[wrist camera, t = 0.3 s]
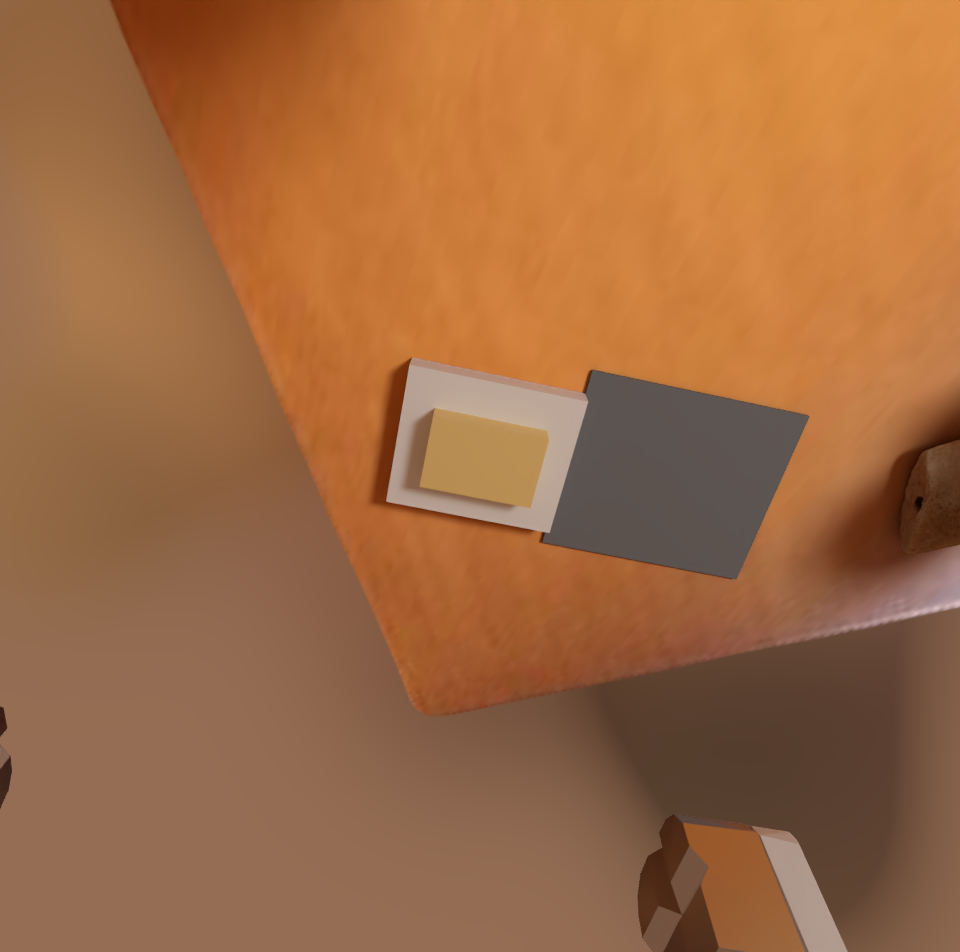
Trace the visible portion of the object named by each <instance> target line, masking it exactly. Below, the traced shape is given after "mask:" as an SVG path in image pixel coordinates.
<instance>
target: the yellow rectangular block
mask: <svg viewBox="0 0 960 952" xmlns="http://www.w3.org/2000/svg"><path fill="white" fill-rule="evenodd" d="M548 443H549V437H548V432H547V431H546V430H541V429H537V428H532V427H527V426H522V425H517V424H512V423H507V422H502V421H497V420H492V419H487V418H482V417H478V416H473V415H468V414H463V413H458V412H453V411H448V410H443V409H438V408H435V410H434V414H433V419H432V424H431V429H430V435H429V440H428V445H427V450H426V455H425V461H424V466H423V471H422V476H421V481H420V486H419V487H424V488H429V489H434V490H439V491H444V492H449V493H454V494H460V495H465V496H470V497H475V498H480V499H485V500H491V501H496V502H501V503H506V504H511V505H516V506H521V507H527V508H531V504H532V501H533V497H534V493H535V490H536V486H537V483H538V479H539V475H540V472H541V468H542V464H543V461H544V457H545V454H546V450H547V446H548Z"/></svg>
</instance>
